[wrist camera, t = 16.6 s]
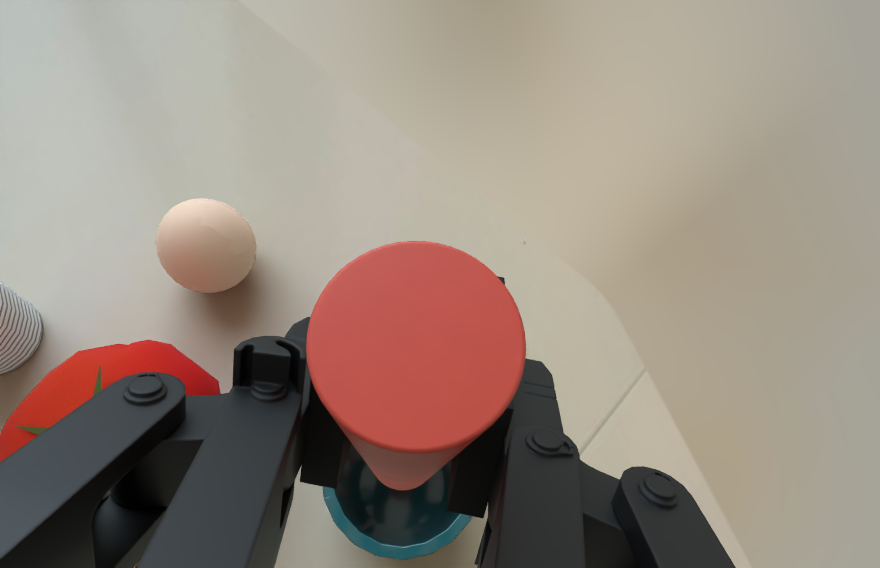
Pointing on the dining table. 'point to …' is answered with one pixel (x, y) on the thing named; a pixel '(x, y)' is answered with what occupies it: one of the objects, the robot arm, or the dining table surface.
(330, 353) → the red round dowel
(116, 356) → the tomato
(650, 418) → the dining table surface
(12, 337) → the cup
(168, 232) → the egg
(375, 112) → the dining table surface
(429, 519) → the teal pencil holder
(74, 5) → the dining table surface
